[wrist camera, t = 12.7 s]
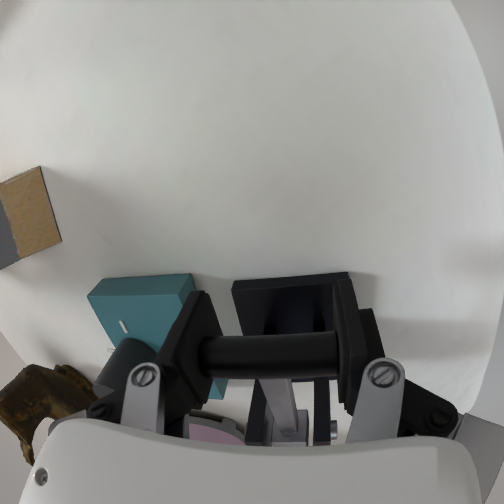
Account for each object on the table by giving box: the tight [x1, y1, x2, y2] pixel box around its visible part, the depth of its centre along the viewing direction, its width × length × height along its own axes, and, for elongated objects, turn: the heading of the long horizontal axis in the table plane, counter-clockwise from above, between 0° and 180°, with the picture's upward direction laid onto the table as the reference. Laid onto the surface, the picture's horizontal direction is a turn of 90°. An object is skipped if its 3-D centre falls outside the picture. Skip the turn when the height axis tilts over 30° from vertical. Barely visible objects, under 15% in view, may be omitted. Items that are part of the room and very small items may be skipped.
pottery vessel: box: [0, 364, 100, 467], centre depth 30 cm, size 25×11×20 cm, turn 18°
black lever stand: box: [231, 272, 350, 447], centre depth 19 cm, size 12×9×12 cm
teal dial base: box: [87, 274, 228, 400], centre depth 26 cm, size 14×11×3 cm
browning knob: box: [92, 338, 157, 398], centre depth 22 cm, size 4×4×6 cm
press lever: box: [198, 331, 339, 447], centre depth 13 cm, size 12×5×2 cm, turn 10°
